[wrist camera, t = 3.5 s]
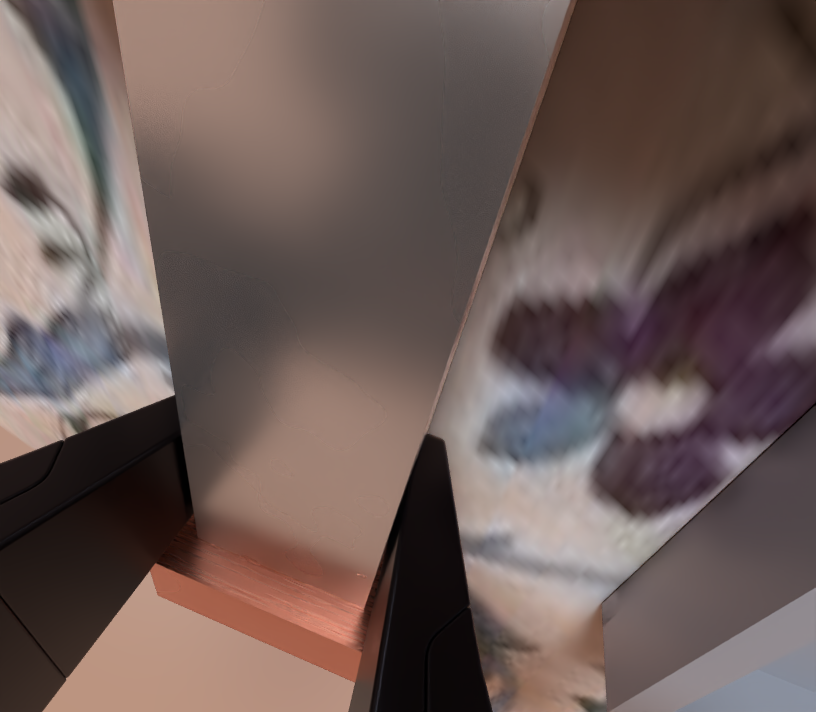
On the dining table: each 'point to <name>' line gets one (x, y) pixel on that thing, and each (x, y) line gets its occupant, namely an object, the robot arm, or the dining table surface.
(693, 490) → the dining table surface
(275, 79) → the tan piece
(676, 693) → the tray
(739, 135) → the dining table surface
